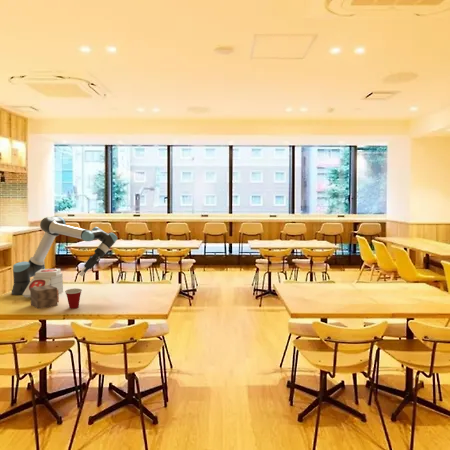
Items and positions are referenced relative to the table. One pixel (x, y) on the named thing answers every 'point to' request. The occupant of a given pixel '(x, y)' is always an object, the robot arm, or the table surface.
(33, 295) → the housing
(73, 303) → the plastic cup
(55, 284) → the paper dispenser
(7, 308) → the table surface
